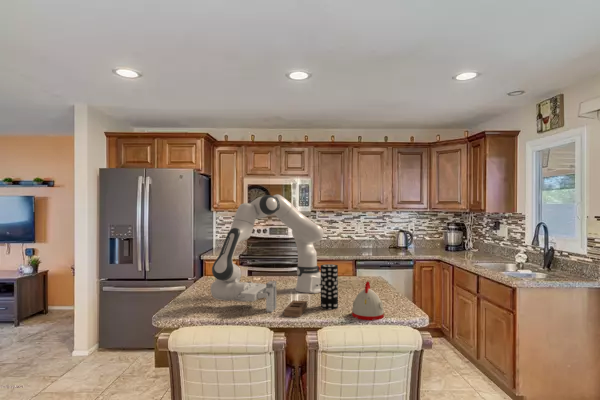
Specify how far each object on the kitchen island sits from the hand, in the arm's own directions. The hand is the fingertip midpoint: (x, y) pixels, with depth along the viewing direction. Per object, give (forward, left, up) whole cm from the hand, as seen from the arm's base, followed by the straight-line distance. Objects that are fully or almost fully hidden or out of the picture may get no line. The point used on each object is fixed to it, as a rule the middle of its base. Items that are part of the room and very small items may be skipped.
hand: (271, 293), depth 170 cm
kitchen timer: (-36, +26, -8) cm, 46 cm away
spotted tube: (-27, +7, -8) cm, 29 cm away
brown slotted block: (-10, +7, -8) cm, 15 cm away
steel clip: (0, 0, -8) cm, 8 cm away
